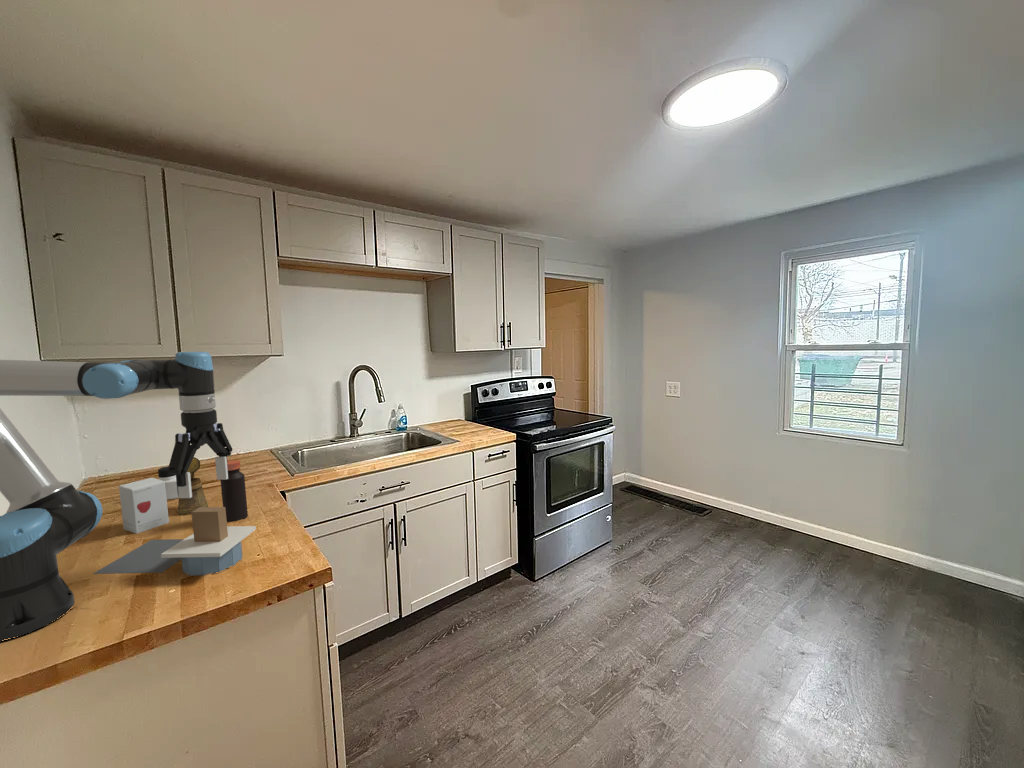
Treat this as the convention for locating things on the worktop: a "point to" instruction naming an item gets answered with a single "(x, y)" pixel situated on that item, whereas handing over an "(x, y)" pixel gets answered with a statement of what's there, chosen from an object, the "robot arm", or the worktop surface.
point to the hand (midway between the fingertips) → (205, 487)
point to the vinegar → (234, 493)
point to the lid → (209, 535)
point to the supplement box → (143, 505)
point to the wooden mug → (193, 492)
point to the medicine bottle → (169, 483)
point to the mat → (144, 559)
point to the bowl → (212, 562)
